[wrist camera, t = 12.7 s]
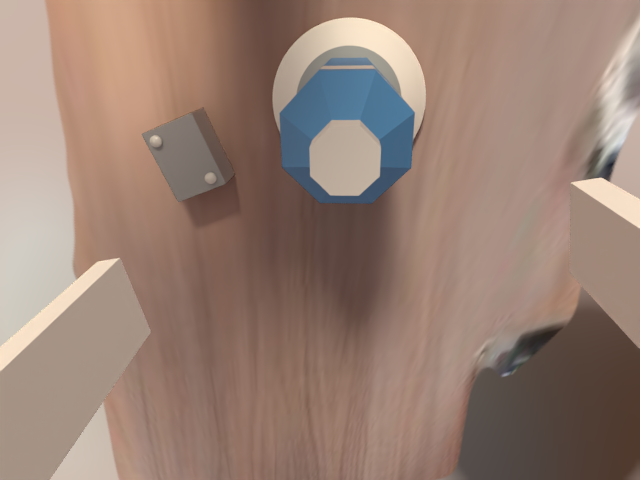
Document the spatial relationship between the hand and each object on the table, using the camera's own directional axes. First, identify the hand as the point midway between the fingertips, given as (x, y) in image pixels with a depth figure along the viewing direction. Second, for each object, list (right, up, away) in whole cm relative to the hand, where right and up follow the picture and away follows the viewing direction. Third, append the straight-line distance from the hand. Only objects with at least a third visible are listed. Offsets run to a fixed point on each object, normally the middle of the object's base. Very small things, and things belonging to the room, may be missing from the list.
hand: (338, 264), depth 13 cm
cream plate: (+2, +16, +35) cm, 39 cm away
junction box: (-15, +11, +39) cm, 43 cm away
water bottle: (+2, +15, +34) cm, 38 cm away
